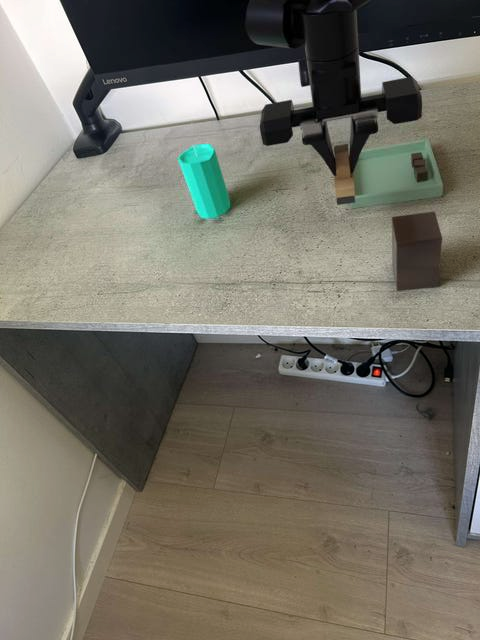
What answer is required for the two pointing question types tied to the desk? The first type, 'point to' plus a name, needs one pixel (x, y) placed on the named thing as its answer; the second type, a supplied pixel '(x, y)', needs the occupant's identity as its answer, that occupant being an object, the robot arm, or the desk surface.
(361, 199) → the tray
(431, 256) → the dark brown block
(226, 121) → the desk surface
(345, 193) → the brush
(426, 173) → the crumb
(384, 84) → the robot arm
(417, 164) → the crumb
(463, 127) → the desk surface
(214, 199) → the candle
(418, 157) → the crumb
